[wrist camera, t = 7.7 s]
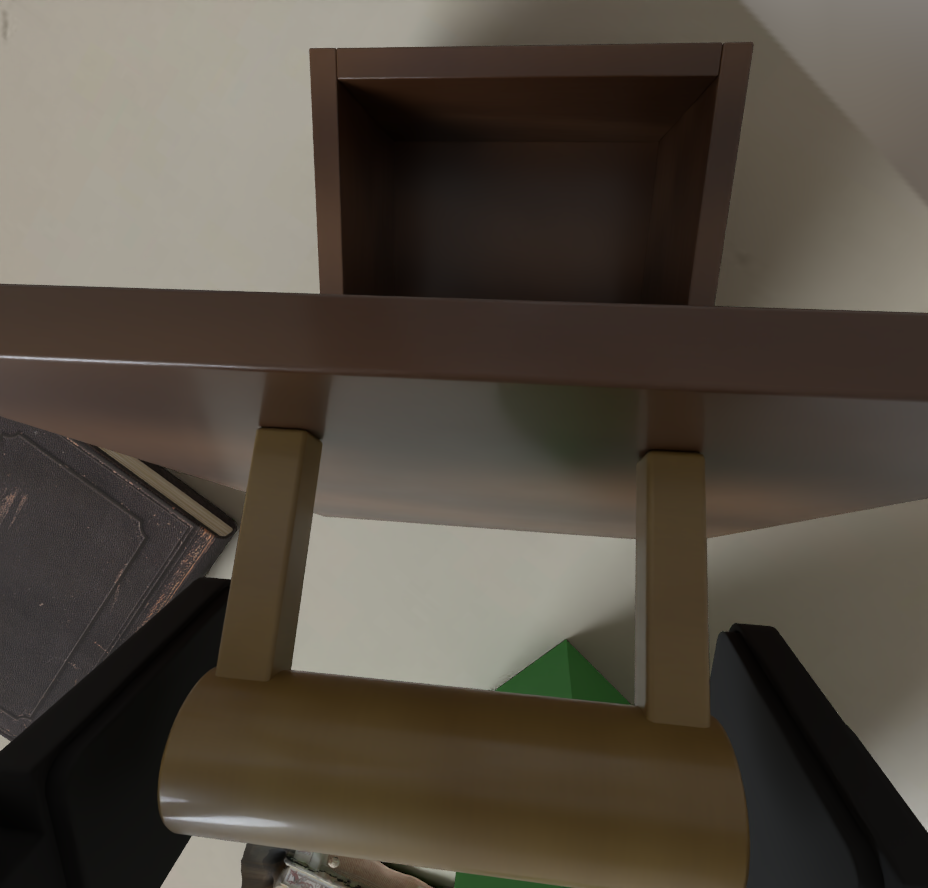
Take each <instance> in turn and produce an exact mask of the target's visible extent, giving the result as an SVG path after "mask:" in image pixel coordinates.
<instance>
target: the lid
mask: <svg viewBox="0 0 928 888" xmlns="http://www.w3.org/2000/svg"><path fill="white" fill-rule="evenodd" d="M0 416H1V417H4V418H7V419H10V420H14V421H17V422H20V423H23V424H27V425H30V426H33V427H36V428H40V429H43V430H46V431H49V432H53V433H56V434H59V435H62V436H66V437H69V438H72V439H75V440H78V441H82V442H85V443H88V444H91V445H95V446H98V447H101V448H104V449H108V450H111V451H114V452H117V453H121V454H124V455H127V456H130V457H134V458H137V459H140V460H143V461H146V462H150V463H153V464H156V465H159V466H163V467H166V468H169V469H172V470H176V471H179V472H182V473H185V474H189V475H192V476H195V477H198V478H202V479H205V480H208V481H211V482H214V483H218V484H221V485H224V486H227V487H231V488H234V489H237V490H240V491H244V492H246V495H245V501H244V507H243V513H242V519H241V525H240V531H239V537H238V543H237V548H236V554H235V560H234V566H233V572H232V578H231V584H230V590H229V596H228V601H227V607H226V613H225V619H224V625H223V631H222V637H221V643H220V648H219V654H218V660H217V666H216V667H214V668H212V669H211V670H209V671H208V672H207V673H206V674H204V675H203V676H202V677H201V678H200V680H199V681H198V682H197V683H196V684H195V686H194V687H193V688H192V690H191V691H190V693H189V694H188V696H187V697H186V699H185V701H184V702H183V704H182V706H181V708H180V710H179V712H178V714H177V716H176V718H175V721H174V723H173V726H172V728H171V730H170V733H169V736H168V739H167V742H166V745H165V749H164V752H163V756H162V761H161V765H160V771H159V778H158V789H157V801H158V810H159V814H160V817H161V820H162V822H163V824H164V825H165V826H166V827H167V828H168V829H169V830H170V831H172V832H173V833H177V834H183V835H190V836H198V837H205V838H212V839H220V840H227V841H234V842H242V843H249V844H256V845H264V846H271V847H278V848H286V849H293V850H300V851H308V852H315V853H322V854H330V855H337V856H344V857H352V858H359V859H366V860H373V861H381V862H388V863H395V864H403V865H410V866H417V867H425V868H432V869H439V870H447V871H454V872H461V873H469V874H476V875H483V876H491V877H498V878H505V879H513V880H520V881H527V882H535V883H542V884H549V885H557V886H564V887H571V888H746V887H747V881H748V875H749V864H750V833H749V820H748V811H747V803H746V797H745V792H744V786H743V782H742V777H741V773H740V770H739V766H738V762H737V759H736V756H735V753H734V750H733V747H732V745H731V742H730V740H729V738H728V736H727V733H726V731H725V730H724V728H723V726H722V725H721V724H720V722H719V721H718V720H717V719H716V718H715V717H714V716H712V715H710V674H709V625H708V577H707V538H713V537H718V536H724V535H729V534H735V533H740V532H746V531H751V530H757V529H762V528H768V527H773V526H779V525H784V524H790V523H795V522H801V521H806V520H812V519H817V518H823V517H828V516H834V515H839V514H845V513H850V512H856V511H861V510H867V509H872V508H878V507H883V506H889V505H894V504H900V503H905V502H911V501H916V500H922V499H927V498H928V313H914V312H882V311H850V310H819V309H787V308H755V307H723V306H691V305H659V304H627V303H595V302H563V301H531V300H500V299H468V298H436V297H404V296H372V295H340V294H308V293H276V292H244V291H212V290H181V289H149V288H117V287H85V286H53V285H21V284H0ZM313 513H315V514H318V515H321V516H325V517H339V518H352V519H366V520H380V521H393V522H407V523H421V524H434V525H448V526H462V527H475V528H489V529H503V530H516V531H530V532H544V533H557V534H571V535H585V536H598V537H612V538H626V539H636V588H635V705H627V704H617V703H607V702H598V701H588V700H578V699H568V698H559V697H549V696H539V695H530V694H520V693H510V692H500V691H491V690H481V689H471V688H461V687H452V686H442V685H432V684H422V683H413V682H403V681H393V680H383V679H374V678H364V677H354V676H345V675H335V674H325V673H315V672H306V671H296V670H291V666H292V659H293V651H294V644H295V637H296V630H297V623H298V616H299V609H300V602H301V595H302V588H303V580H304V573H305V566H306V559H307V552H308V545H309V538H310V531H311V524H312V517H313Z"/></svg>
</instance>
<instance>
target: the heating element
mask: <svg viewBox="0 0 928 888" xmlns="http://www.w3.org/2000/svg"><path fill="white" fill-rule="evenodd" d="M241 873H242V888H433V887H431V886H429V885H427V884H426V883H424V882H422V881H421V880H419V879H418V878H416V877H413V876H411V875H406V874H403V873H400V872H397V871H394V870H392V869H390V868H388V867H386V866H385V865H383V864H382V863H381V862H379V861H373V860H366V859H359V858H352V857H344V856H337V855H330V854H322V853H315V852H308V851H300V850H293V849H286V848H278V847H271V846H264V845H256V844H249V843H248V844H247V845H246V848H245V851H244V855H243V858H242V860H241Z"/></svg>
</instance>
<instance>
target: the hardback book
mask: <svg viewBox="0 0 928 888" xmlns="http://www.w3.org/2000/svg"><path fill="white" fill-rule="evenodd" d="M495 691H500V692H510V693H520V694H530V695H539V696H549V697H559V698H568V699H578V700H588V701H598V702H607V703H617V704H627V705H631V704H630V703H629V702H628V701H627V700H626V699H625V698H624V697H623V696H622V695H621V694H620V693H619V692H618V691H617V690H616V689H615V688H614V687H613V686H612V685H611V684H610V683H609V682H608V681H607V680H606V679H605V678H604V677H603V676H602V675H601V674H600V673H599V672H598V671H597V670H596V669H595V668H594V667H593V666H592V665H591V664H590V663H589V662H588V661H587V660H586V659H585V658H584V657H583V656H582V655H581V654H580V653H579V652H578V651H577V650H576V649H575V648H574V647H573V646H572V645H571V644H570V643H569V642H568V641H567V640H564V641H563V642H561V643H560V644H559V645H557V646H556V647H555V648H553V649H552V650H550V651H549V652H548V653H546V654H545V655H543V656H542V657H541V658H539V659H538V660H537V661H535V662H534V663H532V664H531V665H530V666H528V667H527V668H525V669H524V670H523V671H521V672H520V673H519V674H517V675H516V676H514V677H513V678H512V679H510V680H509V681H507V682H506V683H505V684H503V685H502V686H501V687H499V688H498V689H496V690H495ZM454 888H571V887H564V886H557V885H549V884H542V883H535V882H527V881H520V880H513V879H505V878H498V877H491V876H483V875H476V874H469V873H461V872H456V876H455V885H454Z"/></svg>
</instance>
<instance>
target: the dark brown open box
mask: <svg viewBox="0 0 928 888" xmlns="http://www.w3.org/2000/svg"><path fill="white" fill-rule="evenodd" d="M753 46H754V44H753V43H752V42H730V43H723V45H722V43H653V44H586V45H519V46H451V47H384V48H337V50H336V48H310V49H309V53H310V76H311V99H312V121H313V144H314V167H315V189H316V212H317V235H318V258H319V280H320V294H340V295H372V296H404V297H436V298H468V299H500V300H531V301H563V302H595V303H627V304H659V305H691V306H714V304H715V298H716V291H717V284H718V278H719V271H720V265H721V258H722V251H723V245H724V238H725V231H726V225H727V218H728V212H729V205H730V198H731V192H732V185H733V178H734V172H735V165H736V159H737V152H738V145H739V139H740V132H741V125H742V119H743V112H744V106H745V99H746V92H747V86H748V79H749V72H750V66H751V59H752V53H753Z"/></svg>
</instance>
